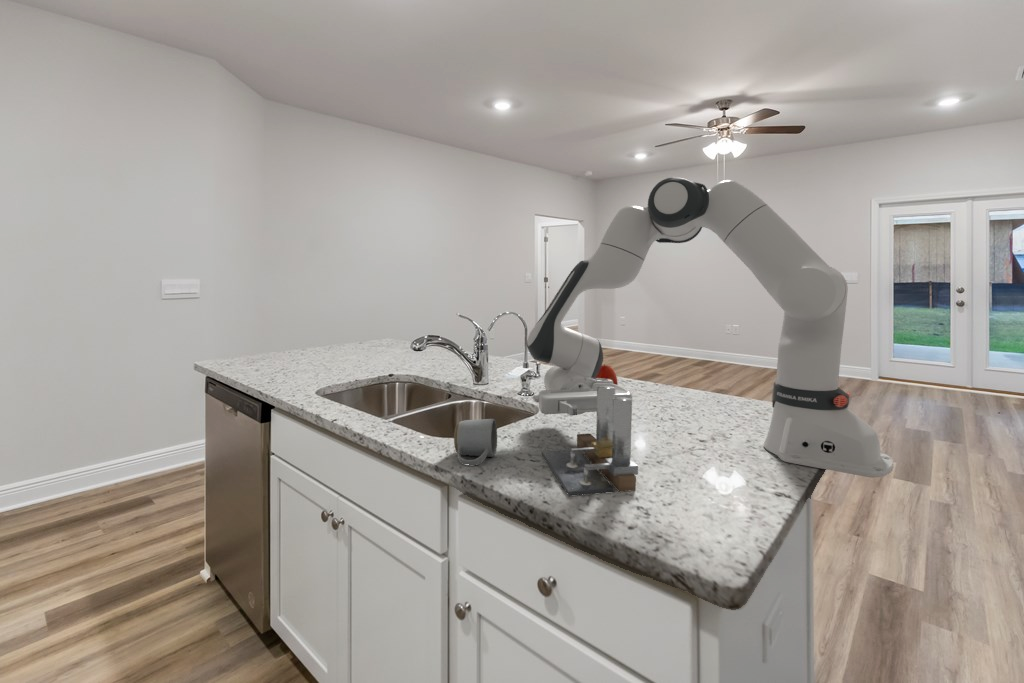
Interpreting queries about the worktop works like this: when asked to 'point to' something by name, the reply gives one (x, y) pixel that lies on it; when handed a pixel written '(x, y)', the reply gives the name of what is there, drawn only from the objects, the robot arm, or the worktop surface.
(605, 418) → the sliding leg
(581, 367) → the robot arm
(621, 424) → the fixed leg
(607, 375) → the red egg shape
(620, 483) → the rail
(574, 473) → the hole plate
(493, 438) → the ceramic mug
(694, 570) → the worktop surface
